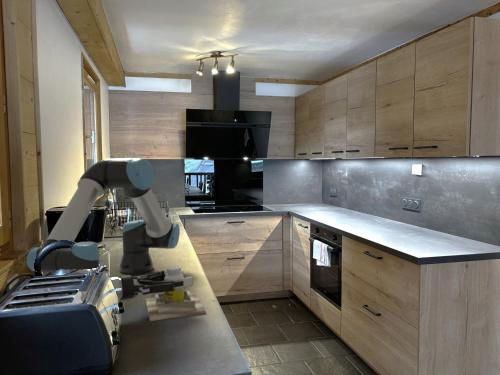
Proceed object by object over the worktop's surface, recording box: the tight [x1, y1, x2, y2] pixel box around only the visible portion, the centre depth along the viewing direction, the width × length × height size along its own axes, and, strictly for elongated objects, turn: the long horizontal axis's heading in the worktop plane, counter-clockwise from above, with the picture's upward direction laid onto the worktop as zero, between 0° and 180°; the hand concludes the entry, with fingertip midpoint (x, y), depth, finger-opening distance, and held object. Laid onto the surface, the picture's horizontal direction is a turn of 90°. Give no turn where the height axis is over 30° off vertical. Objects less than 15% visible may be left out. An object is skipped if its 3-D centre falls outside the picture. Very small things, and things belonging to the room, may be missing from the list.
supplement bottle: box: [163, 265, 185, 304], centre depth 131 cm, size 7×7×13 cm
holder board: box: [145, 289, 207, 322], centre depth 131 cm, size 18×18×4 cm
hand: (187, 277), depth 133 cm, fingers open, 8 cm apart
